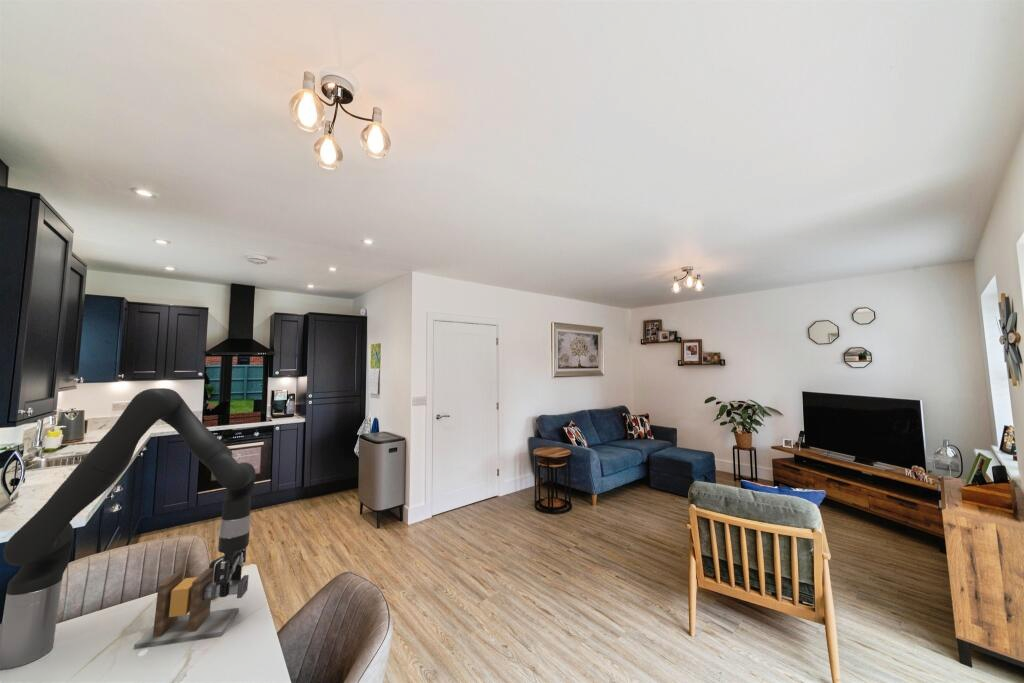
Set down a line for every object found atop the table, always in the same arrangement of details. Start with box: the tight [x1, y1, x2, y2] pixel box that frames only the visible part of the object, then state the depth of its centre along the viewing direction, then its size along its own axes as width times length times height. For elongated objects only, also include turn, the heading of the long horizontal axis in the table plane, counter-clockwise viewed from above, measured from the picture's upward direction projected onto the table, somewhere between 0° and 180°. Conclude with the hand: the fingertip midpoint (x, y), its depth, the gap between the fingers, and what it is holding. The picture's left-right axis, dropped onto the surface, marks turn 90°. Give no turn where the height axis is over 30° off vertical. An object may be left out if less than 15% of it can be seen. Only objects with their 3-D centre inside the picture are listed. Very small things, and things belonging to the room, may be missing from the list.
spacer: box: [169, 576, 199, 617], centre depth 110 cm, size 4×7×7 cm, turn 16°
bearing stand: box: [133, 568, 240, 650], centre depth 110 cm, size 20×12×14 cm, turn 106°
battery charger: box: [208, 555, 232, 583], centre depth 129 cm, size 7×4×11 cm, turn 171°
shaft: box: [169, 574, 250, 603], centre depth 111 cm, size 21×4×4 cm, turn 106°
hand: (230, 588), depth 113 cm, fingers open, 8 cm apart
